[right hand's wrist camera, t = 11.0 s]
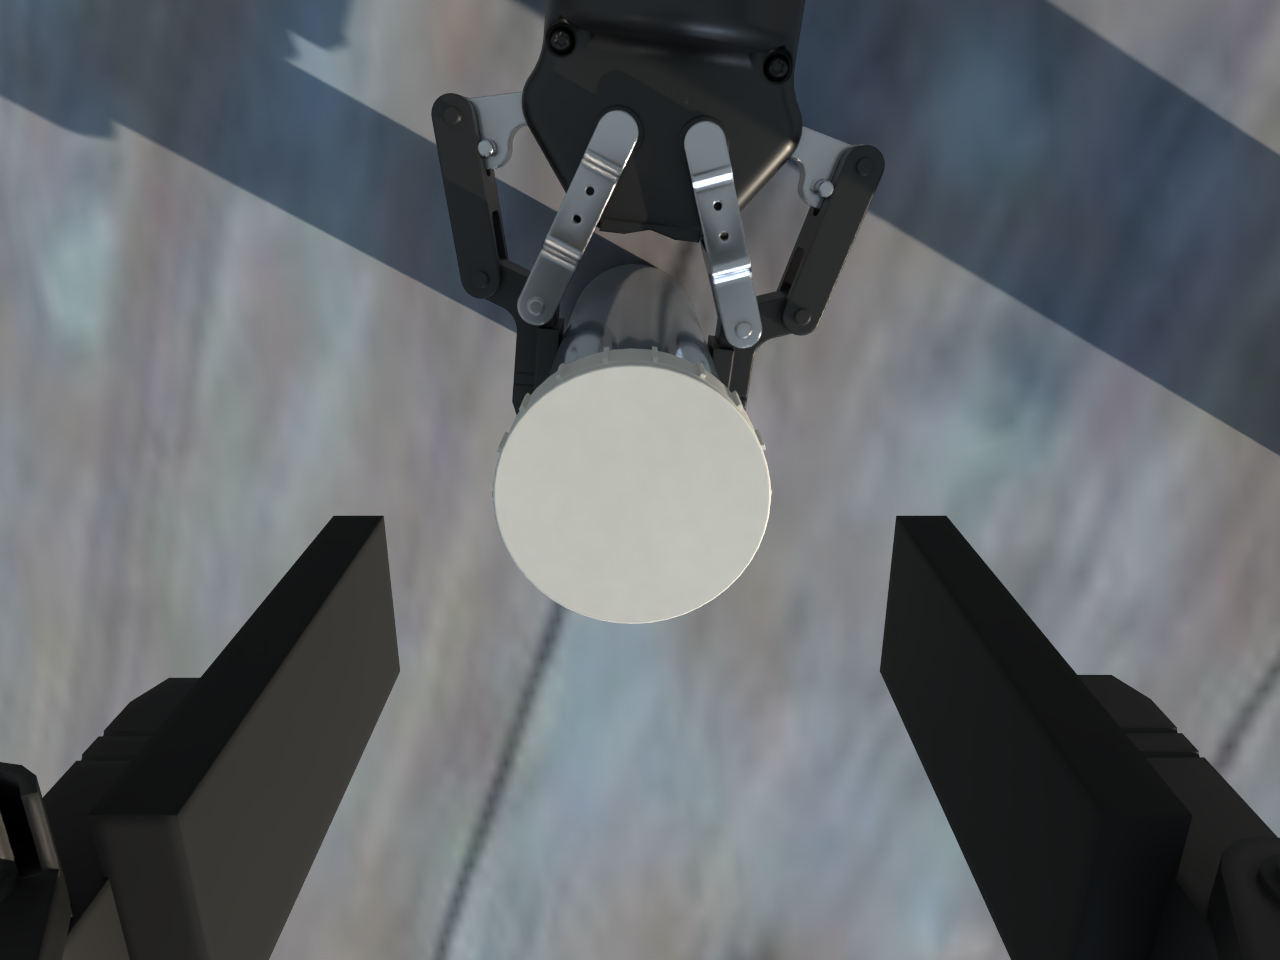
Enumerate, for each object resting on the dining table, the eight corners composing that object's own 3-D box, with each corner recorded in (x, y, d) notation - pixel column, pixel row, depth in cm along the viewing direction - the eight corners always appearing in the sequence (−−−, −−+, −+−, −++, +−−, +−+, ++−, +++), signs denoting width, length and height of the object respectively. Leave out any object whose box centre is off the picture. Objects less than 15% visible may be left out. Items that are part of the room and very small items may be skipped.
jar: (612, 409, 38) (592, 638, 20) (548, 304, 36) (464, 453, 19) (718, 348, 37) (794, 532, 19) (656, 239, 35) (676, 329, 18)
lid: (590, 633, 21) (586, 670, 20) (448, 429, 20) (433, 452, 18) (808, 518, 20) (822, 548, 19) (680, 292, 19) (684, 305, 17)
